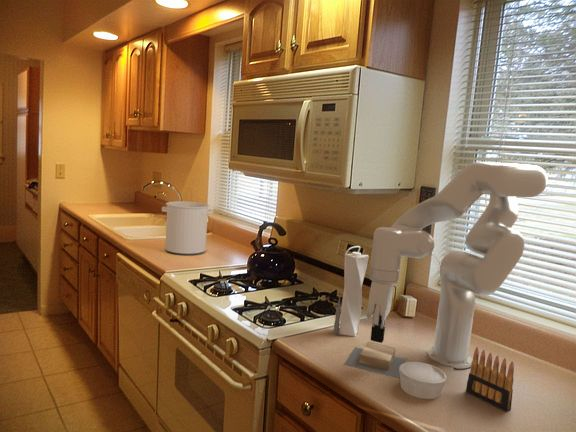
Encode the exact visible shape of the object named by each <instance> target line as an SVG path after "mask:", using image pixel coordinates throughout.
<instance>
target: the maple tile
mask: <svg viewBox="0 0 576 432" xmlns="http://www.w3.org/2000/svg"><path fill="white" fill-rule="evenodd" d="M362 349H363V350H362V352H361V354H360V360H359V363H363V364H367V365H371V366H375V367H379V368H383V369H387V370H389V368H390V366H391V363H392V361H393V359H394V357H395V356H396V351H397V348H396V347H394V346H390V345H385V344H382V343H378V342H373V341H367V343H366V344H365V346H364V348H362Z"/></svg>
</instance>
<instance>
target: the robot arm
mask: <svg viewBox="0 0 576 432" xmlns="http://www.w3.org/2000/svg"><path fill="white" fill-rule="evenodd" d="M547 185H548V175H547V173H546V171H545V170H544V168H542V167H540V166H538V165H534V164H533V165H532V164H523V163H521V164H520V163H510V162H509V163H508V162H507V163H506V162H505V163H499V162H488V161H487V162H486V161H485V162H484V161H474V162H470V163H469V164H466V166H465V167H463V169H462V170H461V171H459V172H458V173H457V174H456V175H455V177H453V178H452V179H451V180H450V181H449V182H448V184H446V185H445V186H444V187H443V188H442V189H441V190H440V191H439V192H438V193H437V194H436V195H434V196H432V197H430V198H428V199H425V200H422V202H419V203H418V204H415V205H414V206H413V207H410V208H409V209H408V210H406V211H404V213H403V214H402V215H400V216H399V218H397V220H395V222H393V224H392V225H391V226H390V227H389V226H387V227H386V226H380V227H377V228H376V229H375V230H374V232H373V239H372V240H373V241H372V246H371V247H372V249H371V250H372V251H371V258H370V267H369V277H368V278H369V280H370V281H371V284H370V288H369V295H368V302H367V308H366V318H371V317H372V322H371V323H372V326H371V332H370V342H374V343H378V344H383V342H384V338H385V332H386V331H385V329H386V326H385V325H386V320H387V319H386V318H387V317H388V315H389V314H390V313H391V308H392V301H393V295H394V286H395V285H394V284H398V283H399V276H400V269H401V261H402V257H405V258H412V259H413V258H414V259H423V258H427V257H428V256H430V255H431V253H433V251H434V248H435V240H434V238H433V236H432V235H431V234H430V233H428V231H425V230H423V229H424V228H426V227H428V226H430V225H434V224H436V223H440V222H447V221H448V222H449V221H451V220H455V219H458V218H460V217H462V216H463V215H464V214H465V213H466V212H467V211H468V210H469V209H470V208H471V206H473V204H474V203H475V202H476V201H478V200H479V198H480V197H482V196H483V195H489V201H488V203H487V207H485V210H483V213H482V214H481V215H480V216H479V218H478V219H477V220H476V221H475V223H474V224H473V226H472V228H471V229H469V231H468V233H467V236H466V238H465V245H466V247H467V248H468V249H469V250H470V251H471V252H472V253H475V254H477V255H479V256H482V257H479V256H477V255H475V254H472V253H468V252H464V251H462V250H461V251H459V250H453V251H450V252H448V253H447V254H445V255H444V257H443V258H442V260H441V262H440V265H439V267H440V268H439V275H440V276H439V277H440V292H439V293H440V294H439V303H438V308H437V309H438V311H437V319H436V325H435V326H436V327H435V333H434V342H433V346H432V347H430V348H428V350H427V353H426V354H427V356H428V357H429V359H431V360H432V361H434V362H435V363H438V364H440V365H442V366H447V367H451V368H453V369H457V370H458V369H459V370H463V369H469V368H471V363H472V360H473V357H472V356H471V355H470V354H469V350H470V345H471V336H472V328H473V323H474V314H475V308H476V297H475V296H476V295H478V296H483V297H487V296H490V295H492V294H494V293H495V292H496V291H497V290H498V289H499V288H500V287H501V286H502V284H503V283H504V282H505V280H506V279H507V278H508V276H509V275H510V274H511V273H512V271H513V270H514V269H515V266H516V265H517V263H518V262H519V260H521V258H522V256H523V254H524V253H523V252H524V250H525V239H524V237H523V235H522V233H521V232H520V231H519V230H518V229H514V228H513V226H514V224H515V223H516V221H517V219H518V216H519V203H518V201H517V198H533V197H537V196H539V195H540V194H542V193H543V192H544V191H545V189H546V187H547ZM475 294H476V295H475Z"/></svg>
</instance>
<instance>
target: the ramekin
mask: <svg viewBox="0 0 576 432" xmlns="http://www.w3.org/2000/svg"><path fill="white" fill-rule="evenodd" d="M399 373H400V378H399V379H400V380H399V381H400V383H399V384H400V388H401V389H402V391H404V392H405V393H406V394H408V395H409V396H412V397H414V398H418V399H422V400H423V399H424V400H434V399H437V398H439V397H440V396H441V395H442V392H443V389H444V387H445V384H446V383H447V379H448V377H447V374H446V373H445V372H444V371H443V370H442V369H440V368H439V367H437V366H435V365H432V364H429V363H426V362H421V361H406V363H403V364H401V365H400V367H399Z"/></svg>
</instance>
